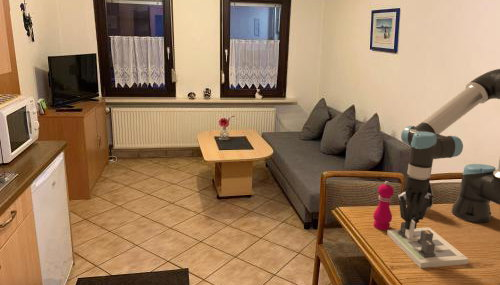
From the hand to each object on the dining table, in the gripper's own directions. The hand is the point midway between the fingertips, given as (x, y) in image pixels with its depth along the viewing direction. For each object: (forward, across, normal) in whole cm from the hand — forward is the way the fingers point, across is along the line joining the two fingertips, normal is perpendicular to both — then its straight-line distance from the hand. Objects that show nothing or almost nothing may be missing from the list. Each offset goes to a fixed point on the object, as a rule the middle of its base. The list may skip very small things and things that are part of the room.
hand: (408, 236), depth 144 cm
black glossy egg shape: (+5, -24, -31) cm, 40 cm away
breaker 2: (+3, -3, +7) cm, 8 cm away
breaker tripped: (+3, -7, 0) cm, 8 cm away
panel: (+5, -7, 0) cm, 9 cm away
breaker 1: (+3, -3, -7) cm, 8 cm away
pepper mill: (+6, +1, -18) cm, 19 cm away
